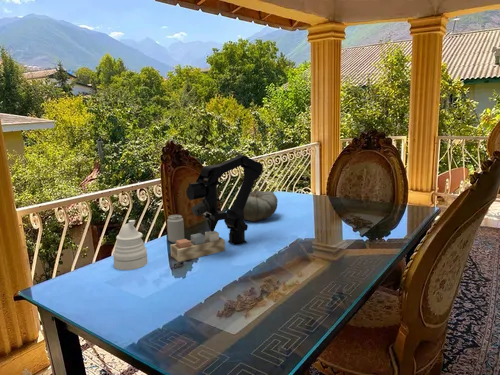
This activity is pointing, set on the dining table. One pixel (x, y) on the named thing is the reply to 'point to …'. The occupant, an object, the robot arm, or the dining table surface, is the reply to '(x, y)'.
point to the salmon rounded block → (182, 243)
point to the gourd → (260, 205)
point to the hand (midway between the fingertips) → (211, 231)
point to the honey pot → (129, 248)
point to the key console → (197, 250)
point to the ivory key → (211, 236)
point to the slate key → (197, 239)
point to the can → (175, 228)
